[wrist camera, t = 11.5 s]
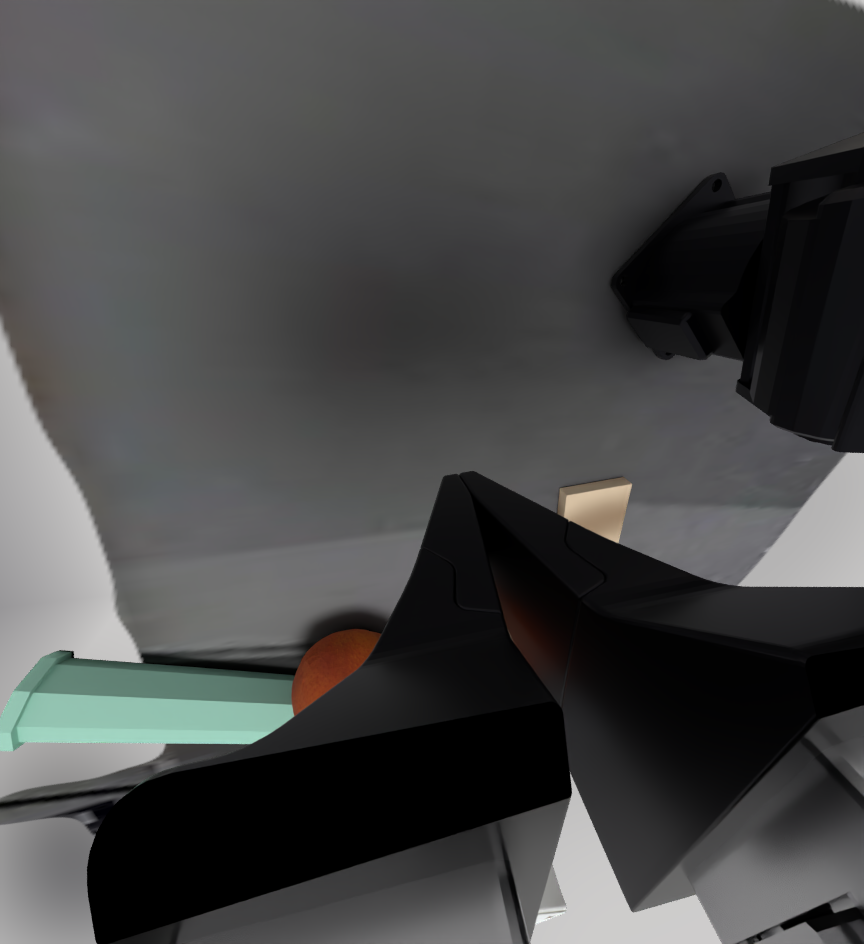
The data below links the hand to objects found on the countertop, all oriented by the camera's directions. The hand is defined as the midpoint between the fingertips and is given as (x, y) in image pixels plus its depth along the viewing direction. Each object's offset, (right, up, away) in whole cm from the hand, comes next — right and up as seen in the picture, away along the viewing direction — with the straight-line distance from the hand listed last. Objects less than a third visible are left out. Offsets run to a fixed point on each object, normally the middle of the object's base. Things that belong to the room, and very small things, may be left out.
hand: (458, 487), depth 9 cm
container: (-18, -18, +21) cm, 33 cm away
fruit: (-8, -14, +21) cm, 27 cm away
